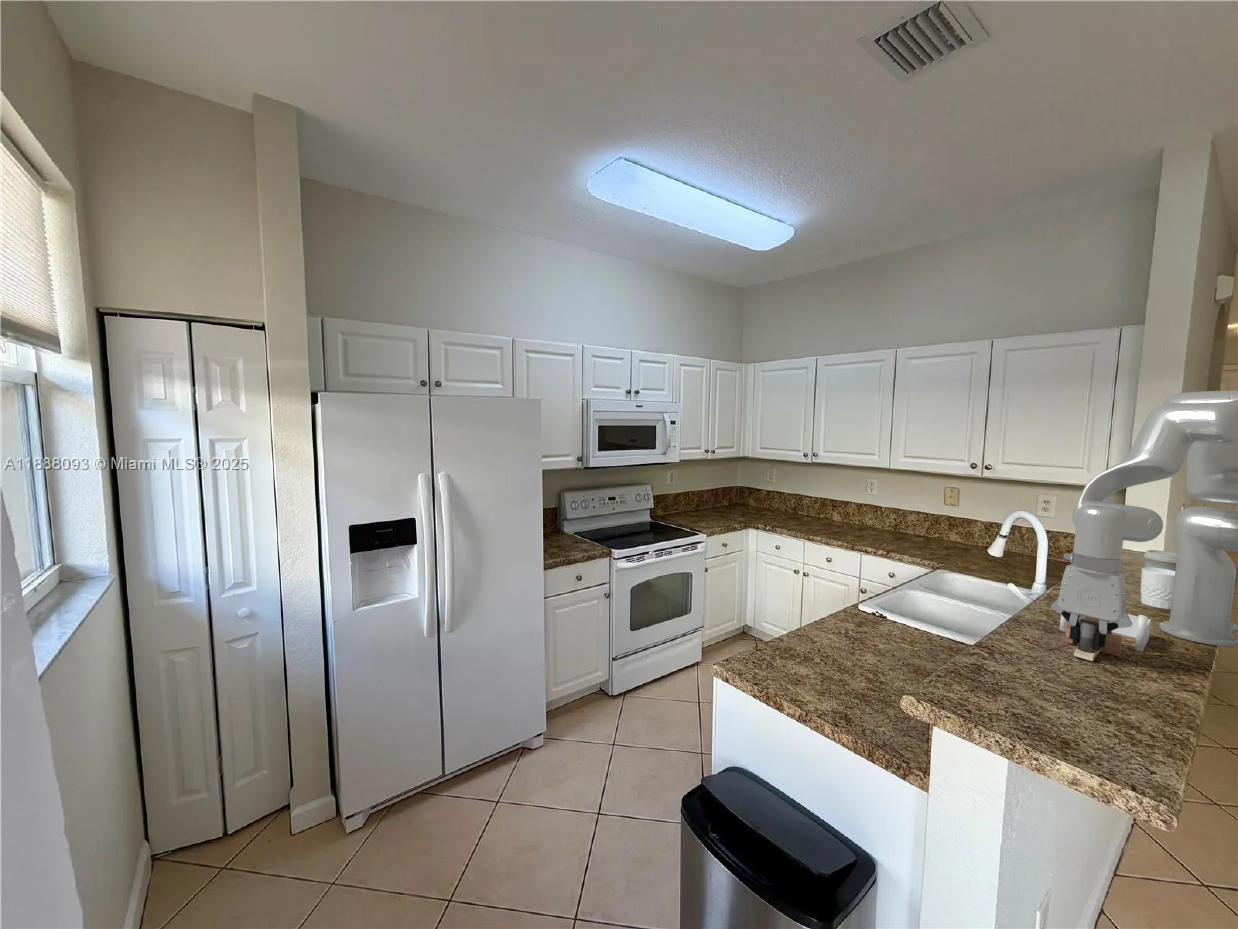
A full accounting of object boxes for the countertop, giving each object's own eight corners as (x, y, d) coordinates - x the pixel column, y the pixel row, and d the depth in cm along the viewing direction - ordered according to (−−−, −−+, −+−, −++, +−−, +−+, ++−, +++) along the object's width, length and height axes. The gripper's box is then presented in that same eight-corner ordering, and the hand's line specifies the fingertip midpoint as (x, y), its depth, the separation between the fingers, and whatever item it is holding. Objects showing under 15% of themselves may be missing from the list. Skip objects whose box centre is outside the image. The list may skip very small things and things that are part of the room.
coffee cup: (1173, 589, 160) (1178, 552, 158) (1184, 597, 152) (1189, 558, 151) (1135, 584, 164) (1139, 548, 163) (1144, 591, 157) (1149, 553, 156)
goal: (1143, 652, 114) (1147, 617, 113) (1058, 630, 125) (1062, 598, 125) (1149, 640, 121) (1153, 607, 120) (1069, 620, 132) (1072, 590, 131)
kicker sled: (1111, 666, 106) (1115, 631, 105) (1056, 650, 113) (1059, 617, 112) (1120, 654, 112) (1123, 621, 111) (1066, 640, 119) (1069, 608, 118)
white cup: (1168, 603, 147) (1172, 569, 146) (1184, 612, 140) (1188, 577, 139) (1132, 598, 150) (1136, 565, 149) (1146, 607, 143) (1150, 572, 142)
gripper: (1042, 557, 113) (1034, 637, 114) (1147, 576, 100) (1136, 665, 102) (1051, 552, 118) (1043, 629, 119) (1152, 570, 105) (1142, 655, 106)
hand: (1086, 645), depth 110 cm, fingers closed on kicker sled, 2 cm apart
